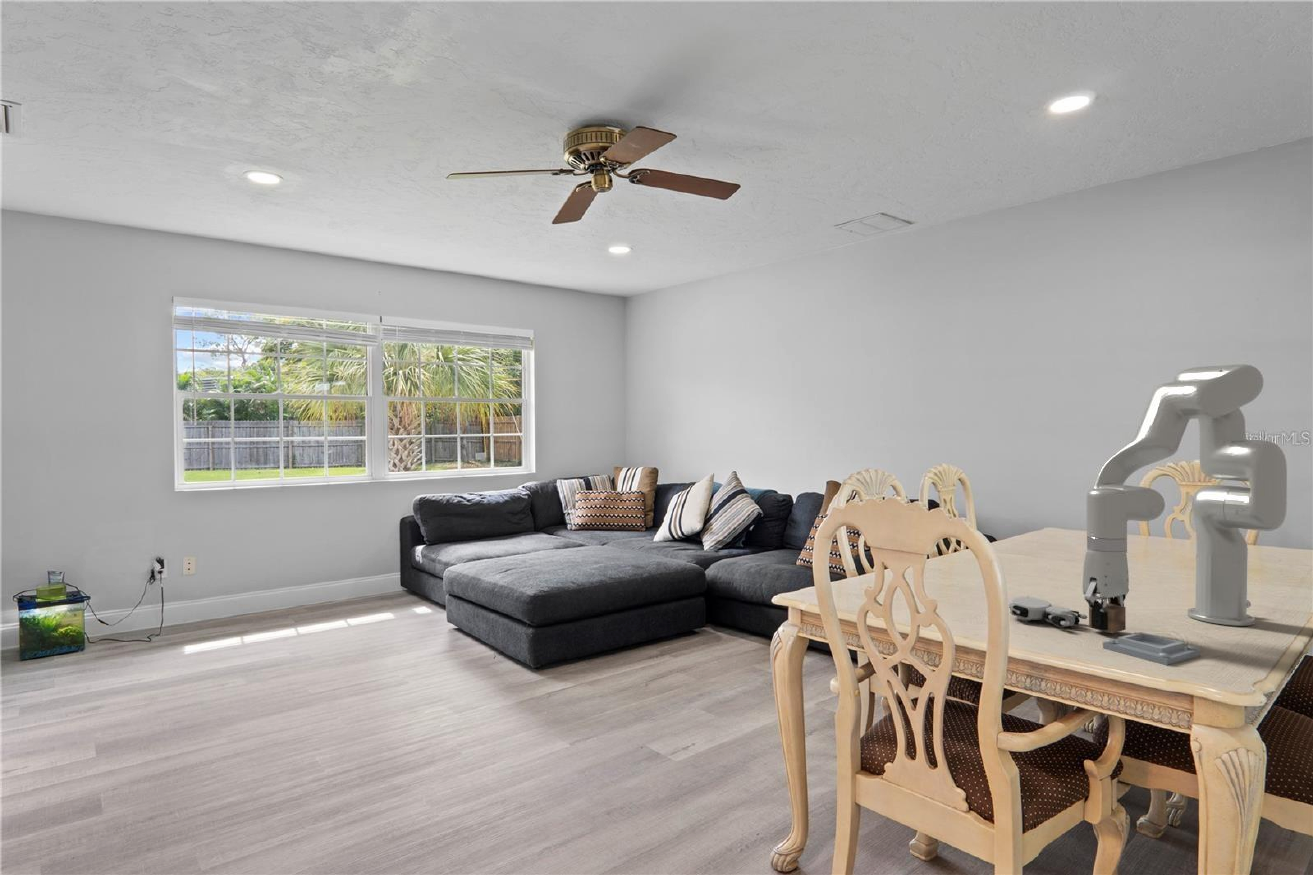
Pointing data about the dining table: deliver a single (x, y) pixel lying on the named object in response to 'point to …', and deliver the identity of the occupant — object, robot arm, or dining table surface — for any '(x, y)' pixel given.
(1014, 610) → the robot toy
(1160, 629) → the dining table surface
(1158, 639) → the base plate
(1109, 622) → the walnut cube
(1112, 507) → the robot arm
